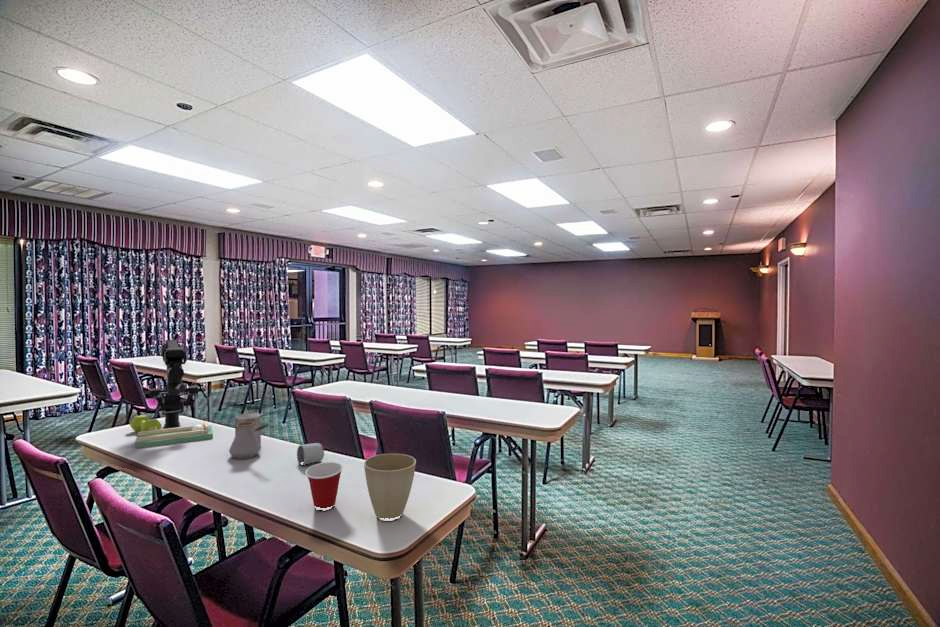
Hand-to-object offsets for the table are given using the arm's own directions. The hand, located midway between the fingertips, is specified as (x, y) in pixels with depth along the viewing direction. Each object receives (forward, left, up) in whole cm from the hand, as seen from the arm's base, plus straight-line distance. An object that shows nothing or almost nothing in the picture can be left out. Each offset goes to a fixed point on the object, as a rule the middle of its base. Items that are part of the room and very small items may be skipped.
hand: (174, 409), depth 207 cm
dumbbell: (-10, -11, -12) cm, 19 cm away
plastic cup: (+110, +40, -12) cm, 117 cm away
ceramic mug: (+67, +44, -12) cm, 81 cm away
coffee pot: (+52, +27, -12) cm, 59 cm away
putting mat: (+7, +1, -12) cm, 13 cm away
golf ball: (+7, +9, -9) cm, 14 cm away
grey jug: (+37, +27, -12) cm, 47 cm away
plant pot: (+125, +55, -12) cm, 136 cm away
